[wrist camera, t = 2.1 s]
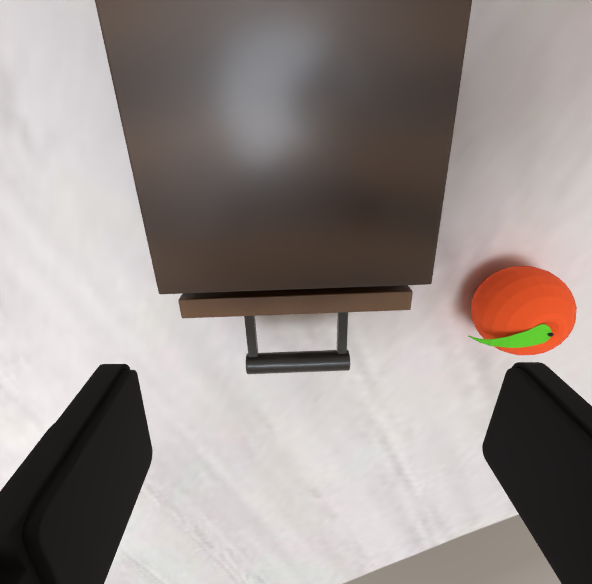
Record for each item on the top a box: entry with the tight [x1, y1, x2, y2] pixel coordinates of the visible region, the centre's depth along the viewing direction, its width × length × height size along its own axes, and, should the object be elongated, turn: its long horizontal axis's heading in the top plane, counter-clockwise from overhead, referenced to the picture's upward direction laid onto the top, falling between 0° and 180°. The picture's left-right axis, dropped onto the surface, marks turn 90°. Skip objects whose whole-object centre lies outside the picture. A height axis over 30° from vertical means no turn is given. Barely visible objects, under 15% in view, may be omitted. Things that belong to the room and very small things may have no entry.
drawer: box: [178, 285, 412, 374], centre depth 22 cm, size 23×13×9 cm, turn 2°
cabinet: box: [95, 0, 472, 294], centre depth 20 cm, size 19×14×11 cm
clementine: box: [469, 266, 577, 355], centre depth 28 cm, size 8×7×7 cm
